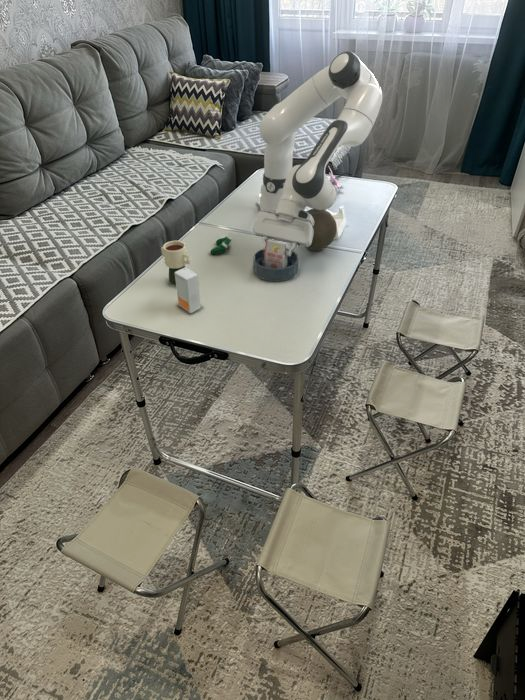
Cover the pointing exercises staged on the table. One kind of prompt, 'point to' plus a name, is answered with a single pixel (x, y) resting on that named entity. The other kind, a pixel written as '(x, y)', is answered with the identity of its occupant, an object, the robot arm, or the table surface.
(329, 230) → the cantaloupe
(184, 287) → the cosmetic box
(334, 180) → the lily
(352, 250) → the table surface
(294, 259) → the bowl
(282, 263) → the white printed carton
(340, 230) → the bracket
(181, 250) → the character mug
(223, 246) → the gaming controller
